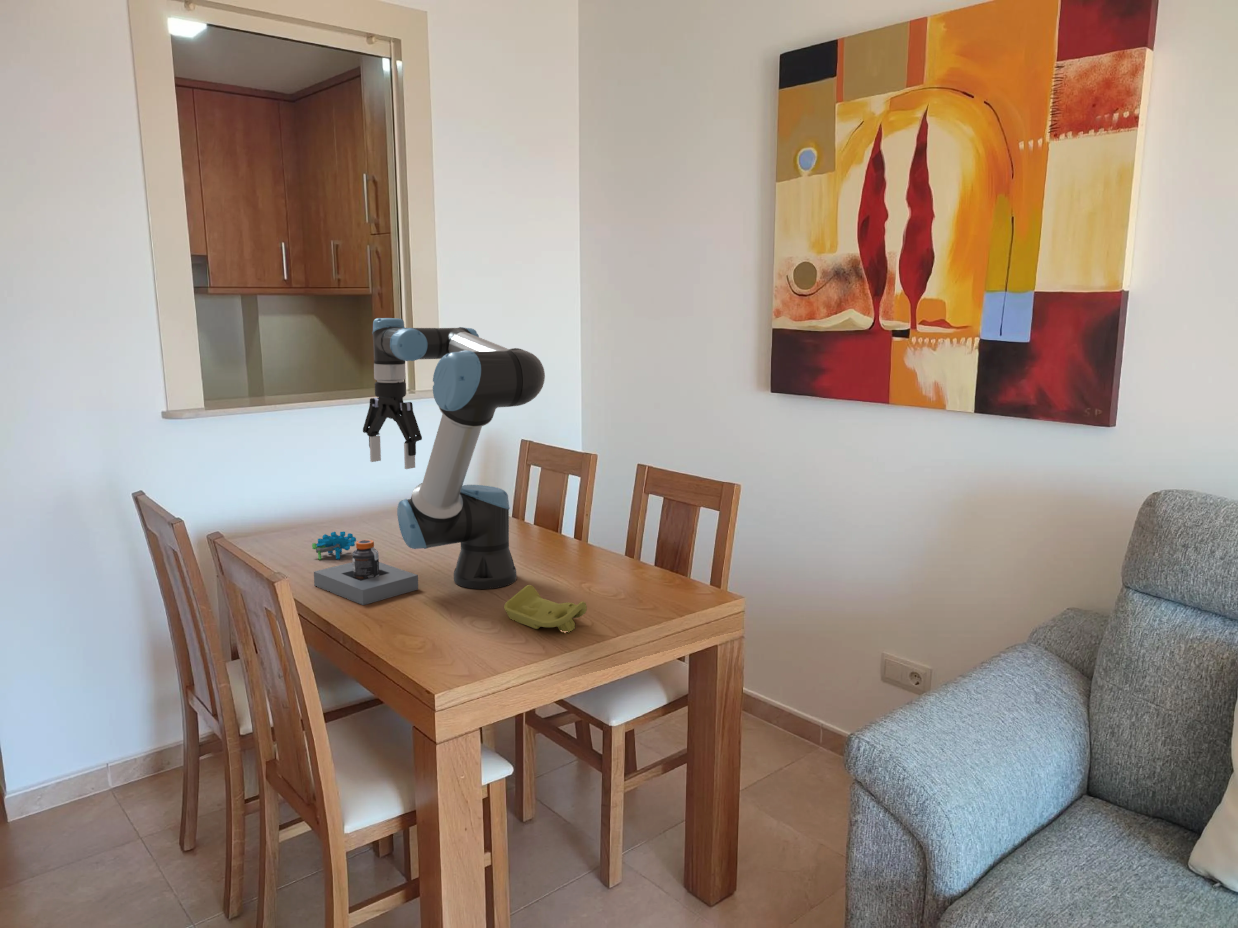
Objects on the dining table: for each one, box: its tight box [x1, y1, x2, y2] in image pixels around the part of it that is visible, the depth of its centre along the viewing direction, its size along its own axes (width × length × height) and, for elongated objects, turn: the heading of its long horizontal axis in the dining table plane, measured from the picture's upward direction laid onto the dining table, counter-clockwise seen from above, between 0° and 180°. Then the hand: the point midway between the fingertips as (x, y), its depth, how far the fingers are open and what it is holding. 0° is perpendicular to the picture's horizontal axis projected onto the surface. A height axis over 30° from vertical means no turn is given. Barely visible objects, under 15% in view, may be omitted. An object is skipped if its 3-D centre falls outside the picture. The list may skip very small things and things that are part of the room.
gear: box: [311, 531, 357, 561], centre depth 228 cm, size 11×6×10 cm
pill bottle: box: [352, 539, 380, 581], centre depth 204 cm, size 6×6×11 cm
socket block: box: [313, 561, 419, 606], centre depth 205 cm, size 20×15×4 cm
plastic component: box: [503, 584, 588, 633], centre depth 183 cm, size 20×7×10 cm
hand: (392, 464), depth 220 cm, fingers open, 13 cm apart
